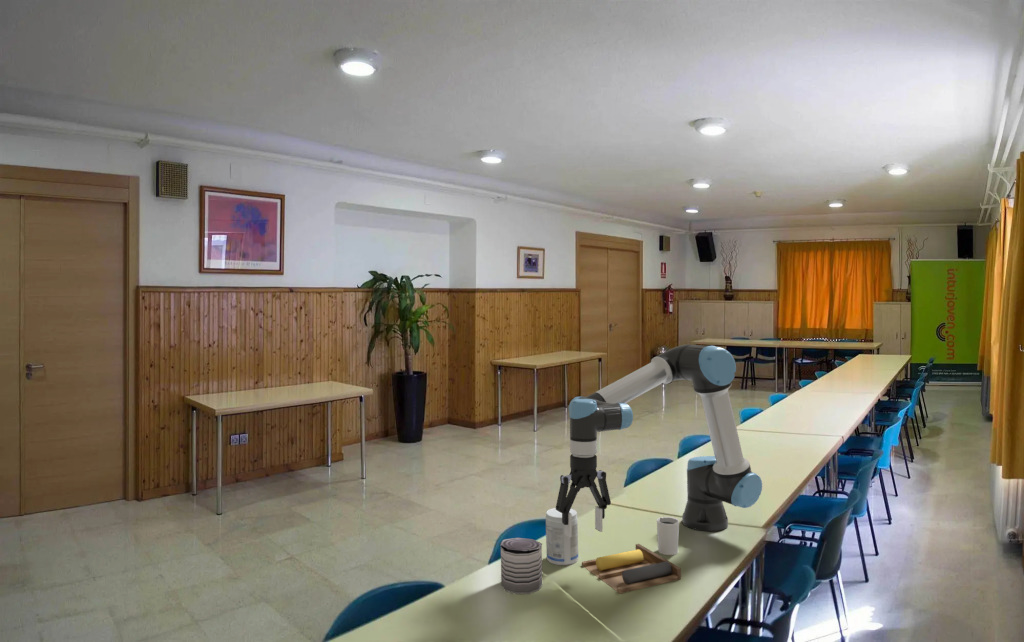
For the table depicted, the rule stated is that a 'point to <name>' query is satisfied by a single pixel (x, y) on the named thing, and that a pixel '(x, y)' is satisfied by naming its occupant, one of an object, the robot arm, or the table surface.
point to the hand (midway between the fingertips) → (583, 532)
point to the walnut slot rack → (615, 574)
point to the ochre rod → (619, 559)
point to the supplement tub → (561, 539)
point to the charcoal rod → (646, 572)
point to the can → (521, 565)
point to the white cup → (668, 535)
